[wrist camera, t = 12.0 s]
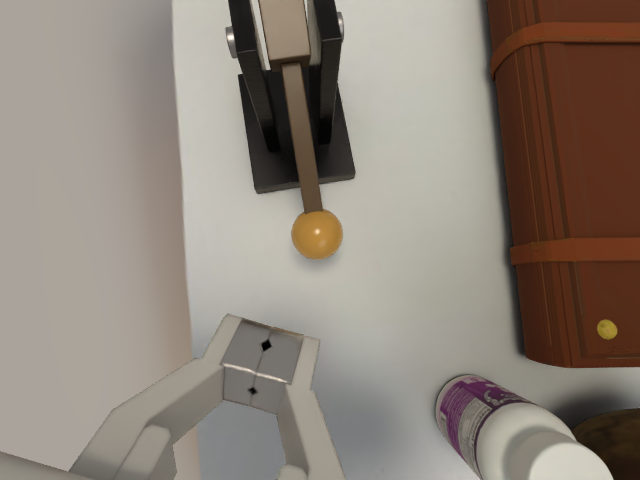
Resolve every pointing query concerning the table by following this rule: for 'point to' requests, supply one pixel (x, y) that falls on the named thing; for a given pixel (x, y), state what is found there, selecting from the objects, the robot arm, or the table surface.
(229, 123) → the table surface
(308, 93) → the black lever stand
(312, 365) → the robot arm
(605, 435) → the brown lumpy potato
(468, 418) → the pill bottle
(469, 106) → the table surface
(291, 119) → the lever
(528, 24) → the book
